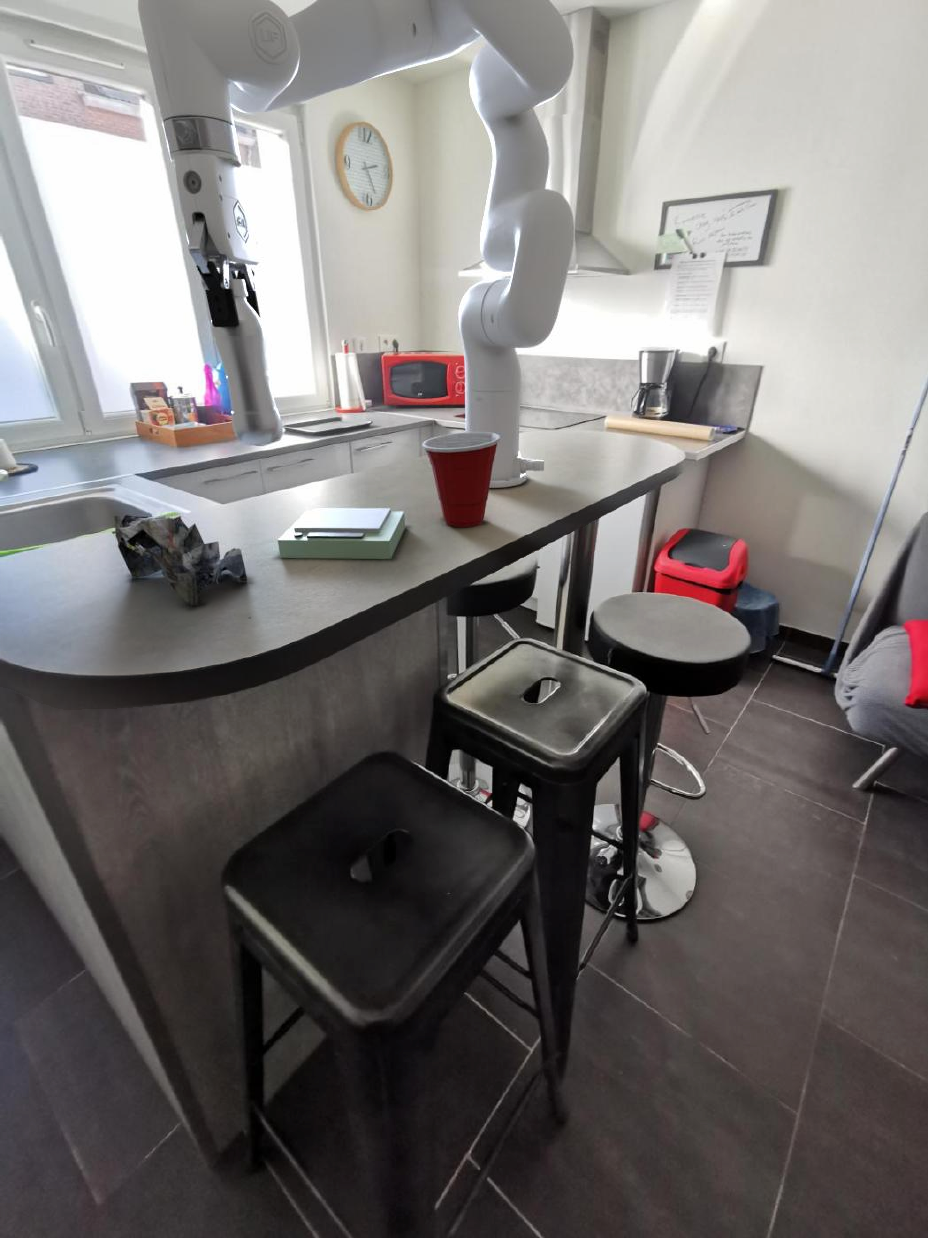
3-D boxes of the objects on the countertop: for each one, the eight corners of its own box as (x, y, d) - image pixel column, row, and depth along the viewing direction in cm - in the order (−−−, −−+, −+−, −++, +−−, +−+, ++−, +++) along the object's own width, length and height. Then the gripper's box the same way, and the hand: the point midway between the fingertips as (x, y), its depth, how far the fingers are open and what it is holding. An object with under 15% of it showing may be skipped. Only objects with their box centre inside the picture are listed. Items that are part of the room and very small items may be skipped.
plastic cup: (424, 511, 87) (420, 431, 82) (493, 508, 88) (494, 428, 82) (426, 535, 78) (422, 445, 72) (504, 531, 79) (506, 443, 73)
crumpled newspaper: (121, 598, 53) (94, 483, 59) (150, 650, 62) (125, 546, 68) (248, 569, 58) (212, 464, 64) (258, 621, 67) (225, 526, 73)
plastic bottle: (272, 450, 76) (239, 277, 67) (227, 449, 77) (188, 279, 68) (294, 440, 82) (266, 279, 72) (251, 439, 83) (219, 281, 73)
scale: (405, 527, 81) (403, 507, 79) (390, 559, 70) (389, 536, 69) (309, 526, 81) (306, 506, 80) (280, 558, 71) (276, 535, 69)
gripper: (199, 123, 56) (239, 327, 65) (264, 163, 71) (289, 323, 80) (127, 127, 56) (176, 329, 65) (206, 166, 72) (237, 325, 80)
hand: (238, 324), depth 72 cm, fingers closed on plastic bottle, 6 cm apart
